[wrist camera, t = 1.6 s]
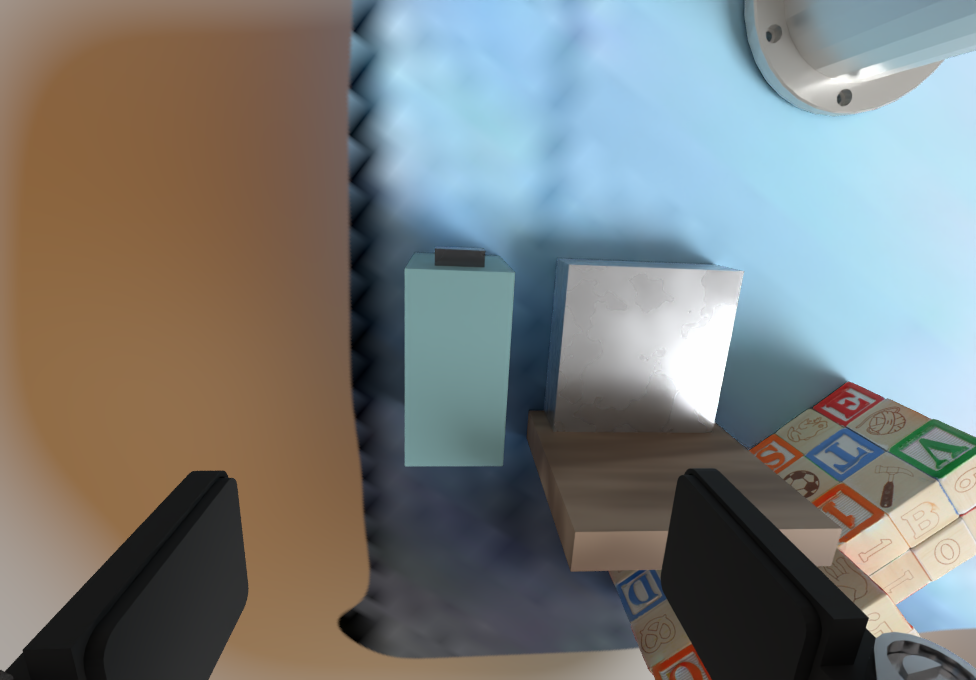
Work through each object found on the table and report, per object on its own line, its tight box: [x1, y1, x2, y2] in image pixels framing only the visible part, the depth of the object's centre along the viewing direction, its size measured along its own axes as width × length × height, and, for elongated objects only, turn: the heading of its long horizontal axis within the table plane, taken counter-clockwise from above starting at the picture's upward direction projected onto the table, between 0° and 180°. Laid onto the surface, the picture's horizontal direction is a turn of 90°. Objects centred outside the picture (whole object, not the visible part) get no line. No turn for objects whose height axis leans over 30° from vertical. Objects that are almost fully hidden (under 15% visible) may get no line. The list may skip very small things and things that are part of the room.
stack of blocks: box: [609, 381, 976, 680], centre depth 29 cm, size 21×6×12 cm, turn 129°
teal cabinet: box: [405, 246, 515, 466], centre depth 26 cm, size 11×5×7 cm, turn 176°
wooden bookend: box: [527, 258, 842, 571], centre depth 25 cm, size 12×12×12 cm
